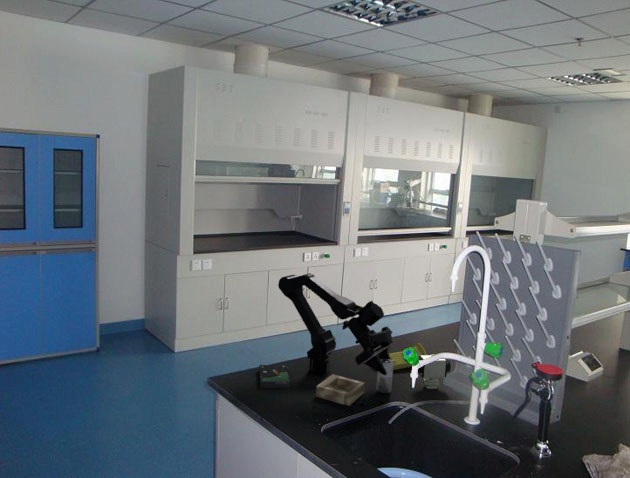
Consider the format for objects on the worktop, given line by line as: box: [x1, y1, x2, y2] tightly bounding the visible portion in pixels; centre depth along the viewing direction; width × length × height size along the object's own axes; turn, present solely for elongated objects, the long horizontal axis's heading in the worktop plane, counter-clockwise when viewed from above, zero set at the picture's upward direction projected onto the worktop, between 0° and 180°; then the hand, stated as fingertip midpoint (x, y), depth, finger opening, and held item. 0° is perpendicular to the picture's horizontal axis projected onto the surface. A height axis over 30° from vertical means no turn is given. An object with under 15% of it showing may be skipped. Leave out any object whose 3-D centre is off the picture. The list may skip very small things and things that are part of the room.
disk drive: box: [258, 364, 291, 389], centre depth 179 cm, size 10×3×15 cm
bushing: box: [375, 359, 394, 394], centre depth 172 cm, size 5×5×10 cm
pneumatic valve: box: [417, 353, 452, 390], centre depth 179 cm, size 6×12×12 cm, turn 99°
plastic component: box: [376, 343, 427, 371], centre depth 199 cm, size 20×7×10 cm
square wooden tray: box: [315, 373, 366, 407], centre depth 169 cm, size 12×12×4 cm
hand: (389, 372), depth 171 cm, fingers closed on bushing, 5 cm apart
